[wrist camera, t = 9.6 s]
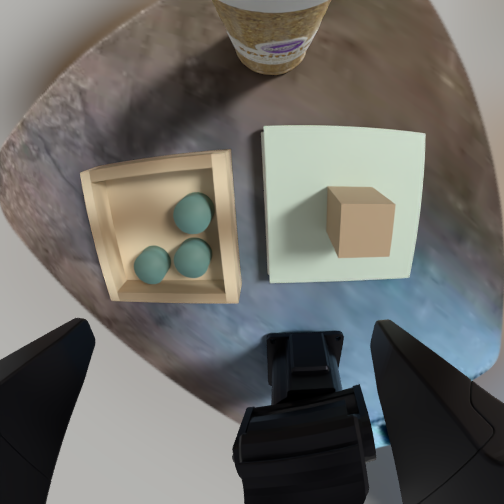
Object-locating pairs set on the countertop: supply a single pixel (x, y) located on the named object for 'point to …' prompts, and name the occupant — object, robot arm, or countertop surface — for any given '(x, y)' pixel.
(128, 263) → the box
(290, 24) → the sprinkles bottle
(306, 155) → the lid
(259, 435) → the robot arm
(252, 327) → the countertop surface
